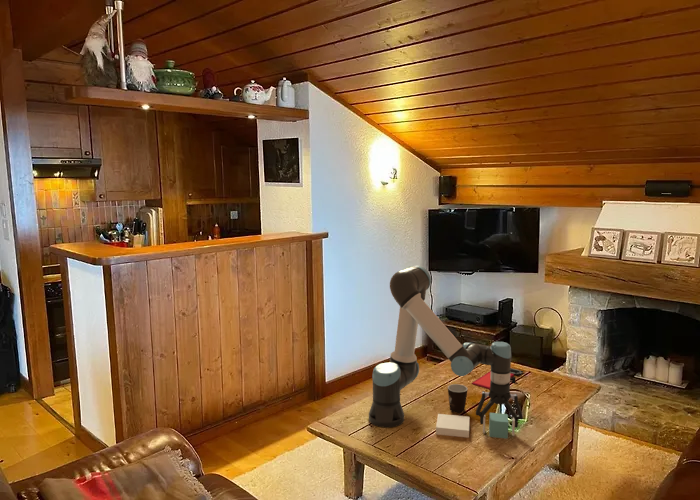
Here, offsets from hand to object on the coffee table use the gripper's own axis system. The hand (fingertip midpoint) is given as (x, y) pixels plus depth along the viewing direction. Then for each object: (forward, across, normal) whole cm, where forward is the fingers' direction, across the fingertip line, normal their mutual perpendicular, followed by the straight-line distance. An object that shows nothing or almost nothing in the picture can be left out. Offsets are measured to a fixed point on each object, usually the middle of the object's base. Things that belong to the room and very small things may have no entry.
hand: (498, 432), depth 219 cm
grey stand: (0, -18, 0) cm, 18 cm away
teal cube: (0, 0, 0) cm, 0 cm away
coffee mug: (0, -17, +20) cm, 26 cm away
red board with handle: (+1, +3, +57) cm, 57 cm away
